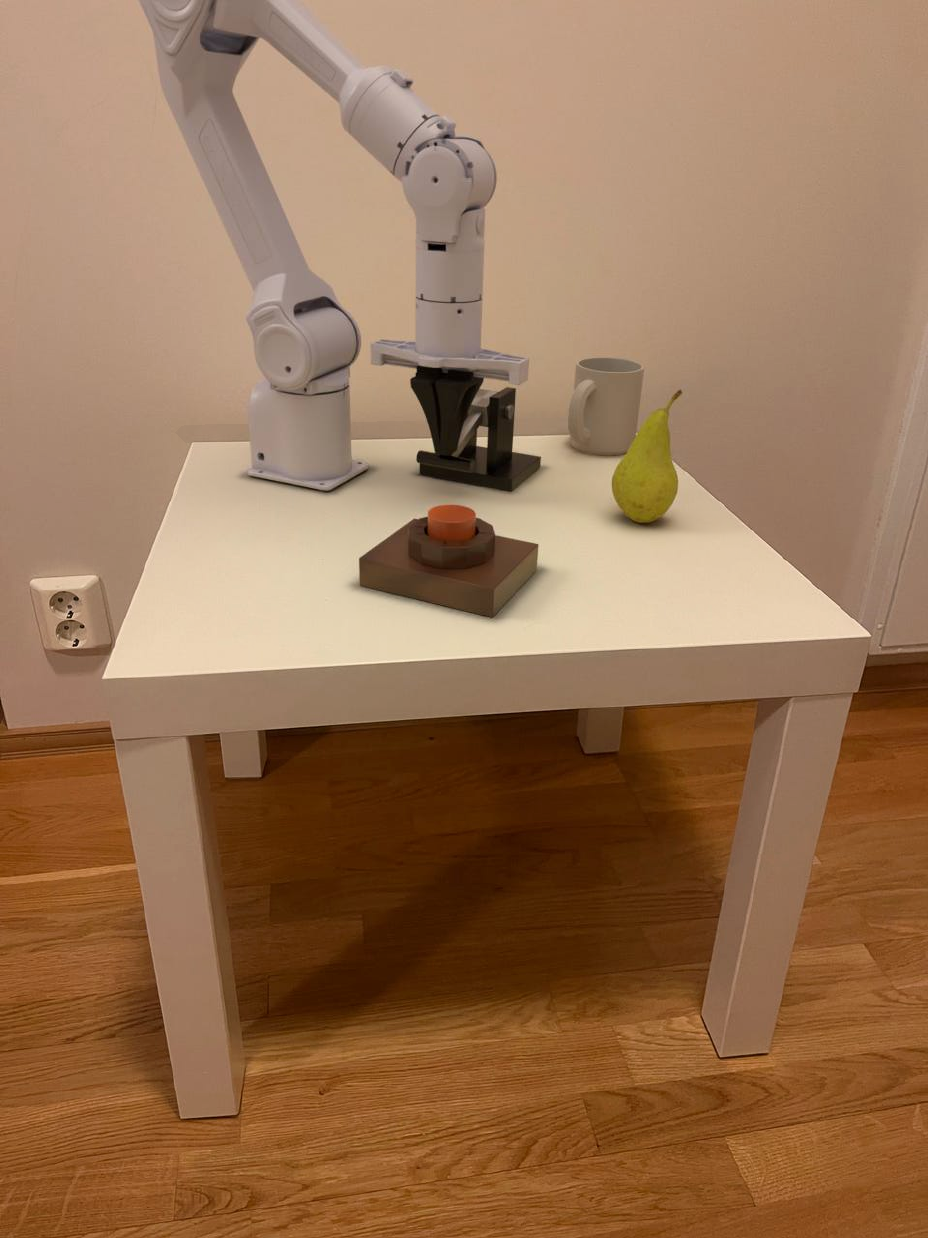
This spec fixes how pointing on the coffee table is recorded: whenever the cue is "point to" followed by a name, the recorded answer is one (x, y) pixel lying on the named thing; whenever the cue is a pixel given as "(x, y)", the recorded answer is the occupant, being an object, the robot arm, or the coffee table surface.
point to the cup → (605, 405)
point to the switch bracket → (493, 451)
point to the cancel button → (451, 523)
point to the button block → (450, 567)
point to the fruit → (647, 471)
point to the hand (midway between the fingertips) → (446, 451)
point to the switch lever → (462, 436)
